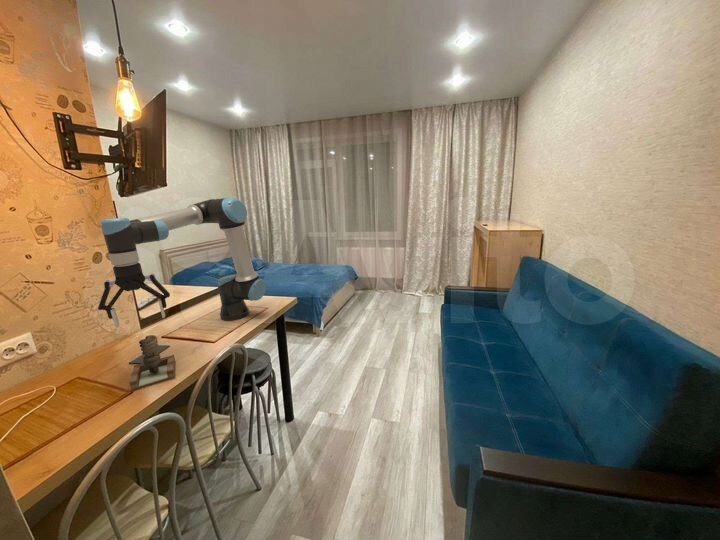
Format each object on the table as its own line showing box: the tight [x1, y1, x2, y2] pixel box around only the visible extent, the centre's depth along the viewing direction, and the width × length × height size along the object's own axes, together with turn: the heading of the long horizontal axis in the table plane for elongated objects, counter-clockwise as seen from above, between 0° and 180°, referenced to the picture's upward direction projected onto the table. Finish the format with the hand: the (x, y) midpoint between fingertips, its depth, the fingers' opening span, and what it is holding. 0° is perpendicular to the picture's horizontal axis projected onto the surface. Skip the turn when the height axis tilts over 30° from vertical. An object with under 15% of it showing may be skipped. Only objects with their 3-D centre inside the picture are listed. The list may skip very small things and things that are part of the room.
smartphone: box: [128, 344, 171, 365], centre depth 125 cm, size 7×1×15 cm
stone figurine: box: [138, 335, 161, 373], centre depth 107 cm, size 6×6×15 cm
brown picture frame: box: [128, 354, 177, 392], centre depth 109 cm, size 13×13×4 cm
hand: (141, 321), depth 104 cm, fingers open, 13 cm apart
